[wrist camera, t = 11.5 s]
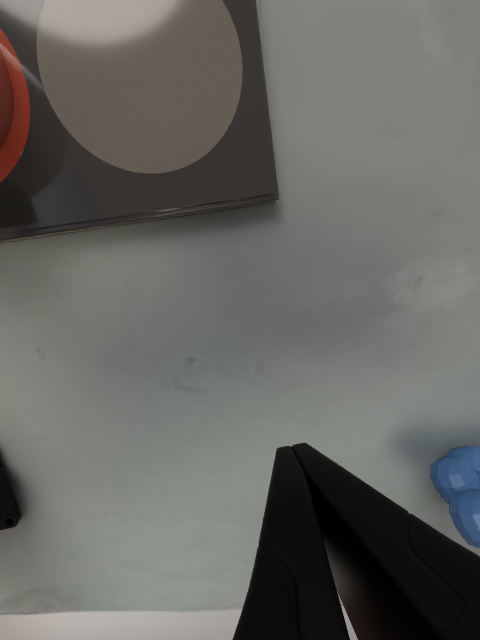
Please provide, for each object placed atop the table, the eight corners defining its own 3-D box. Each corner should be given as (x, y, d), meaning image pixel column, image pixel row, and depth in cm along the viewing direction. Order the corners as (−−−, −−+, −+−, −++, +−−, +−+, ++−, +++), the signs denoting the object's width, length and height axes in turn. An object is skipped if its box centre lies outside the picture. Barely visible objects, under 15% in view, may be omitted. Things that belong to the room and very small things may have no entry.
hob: (-136, 263, 16) (-163, 264, 15) (-269, -53, 13) (-316, -83, 12) (275, 202, 18) (280, 198, 16) (239, -97, 15) (242, -129, 13)
